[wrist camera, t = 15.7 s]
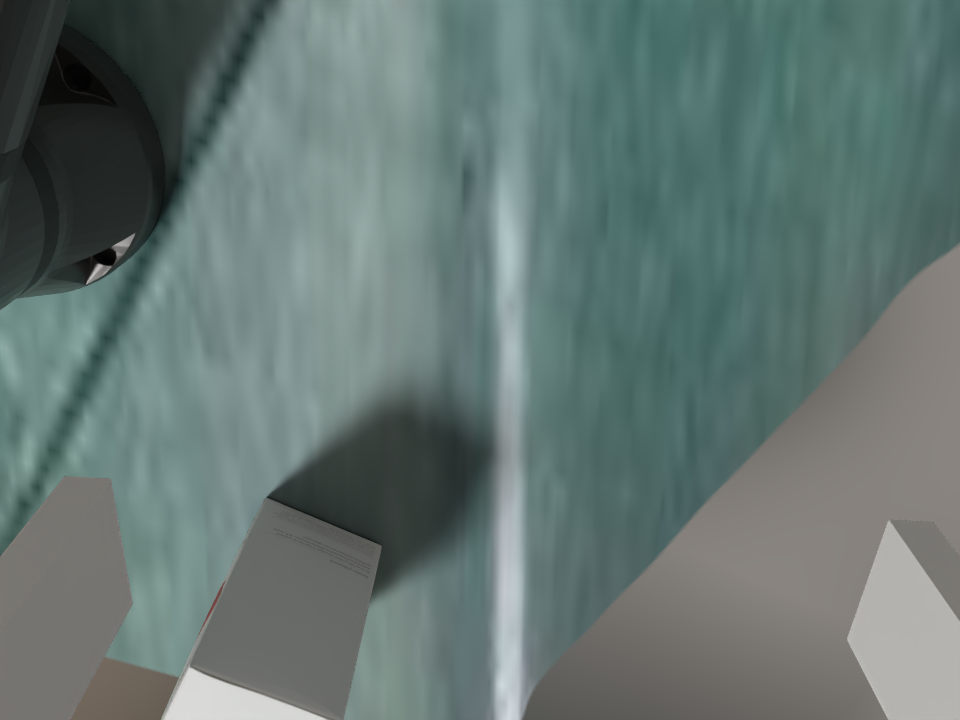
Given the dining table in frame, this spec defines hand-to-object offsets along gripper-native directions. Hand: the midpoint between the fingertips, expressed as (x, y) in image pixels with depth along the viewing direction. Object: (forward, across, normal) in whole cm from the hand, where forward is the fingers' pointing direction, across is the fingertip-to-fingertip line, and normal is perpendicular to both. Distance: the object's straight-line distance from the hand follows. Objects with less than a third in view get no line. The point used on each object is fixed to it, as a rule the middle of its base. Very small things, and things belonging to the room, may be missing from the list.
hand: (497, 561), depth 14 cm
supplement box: (+34, -12, -30) cm, 47 cm away
